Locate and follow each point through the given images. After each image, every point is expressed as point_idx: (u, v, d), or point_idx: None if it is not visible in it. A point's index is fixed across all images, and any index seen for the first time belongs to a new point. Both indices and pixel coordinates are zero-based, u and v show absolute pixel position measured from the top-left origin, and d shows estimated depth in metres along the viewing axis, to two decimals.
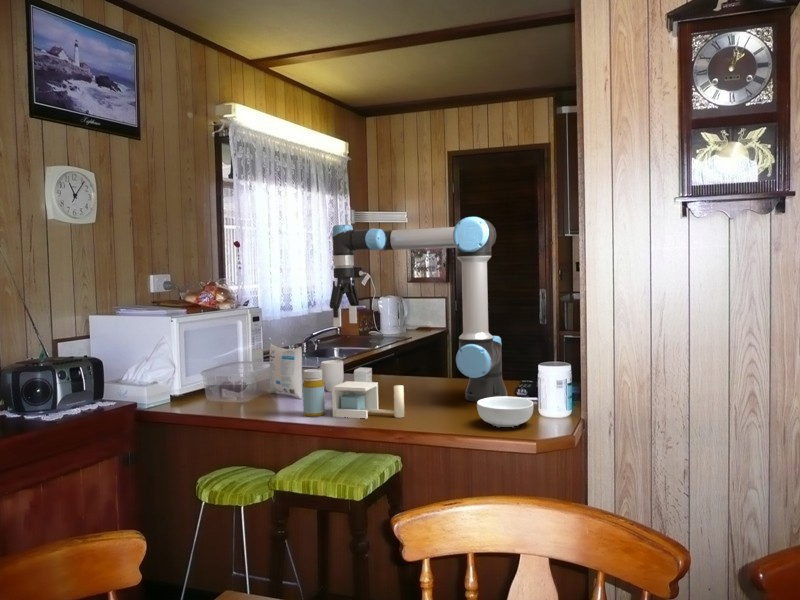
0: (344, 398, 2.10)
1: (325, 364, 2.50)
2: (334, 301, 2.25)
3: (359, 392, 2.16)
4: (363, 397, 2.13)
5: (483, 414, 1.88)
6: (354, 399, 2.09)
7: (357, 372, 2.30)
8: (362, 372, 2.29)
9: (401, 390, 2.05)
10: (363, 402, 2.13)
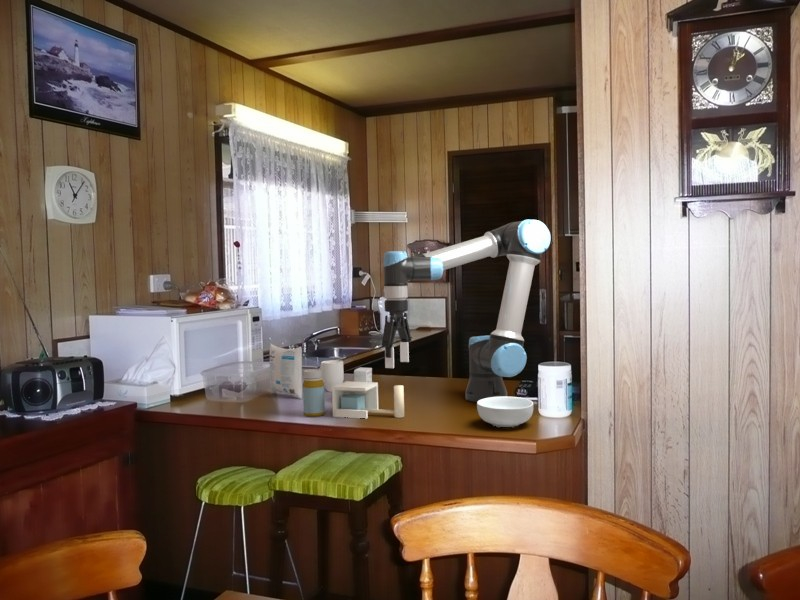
0: (344, 398, 2.10)
1: (325, 364, 2.50)
2: (387, 339, 1.97)
3: (359, 392, 2.16)
4: (363, 397, 2.13)
5: (483, 414, 1.88)
6: (354, 399, 2.09)
7: (357, 372, 2.30)
8: (362, 372, 2.29)
9: (401, 390, 2.05)
10: (363, 402, 2.13)
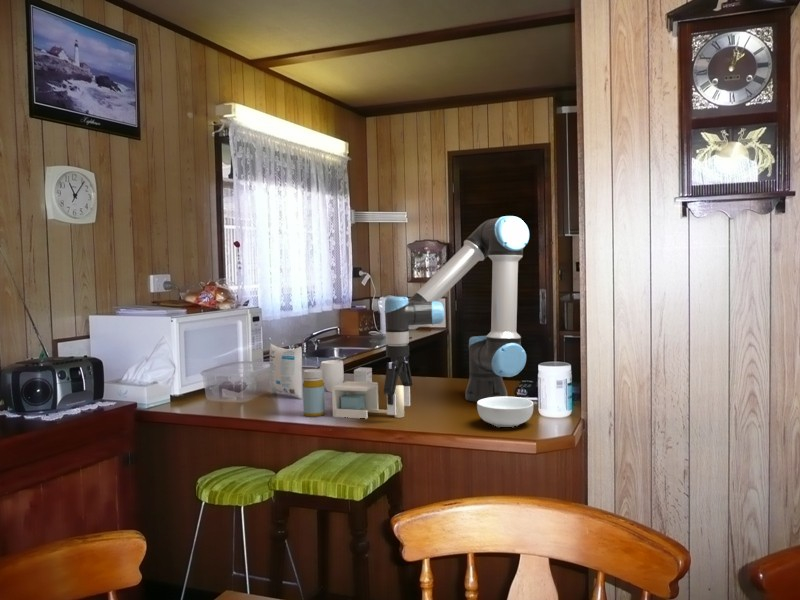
0: (344, 398, 2.10)
1: (325, 364, 2.50)
2: (389, 387, 1.97)
3: (359, 392, 2.16)
4: (363, 397, 2.13)
5: (483, 414, 1.89)
6: (354, 399, 2.09)
7: (357, 372, 2.30)
8: (362, 372, 2.29)
9: (401, 390, 2.05)
10: (363, 402, 2.13)
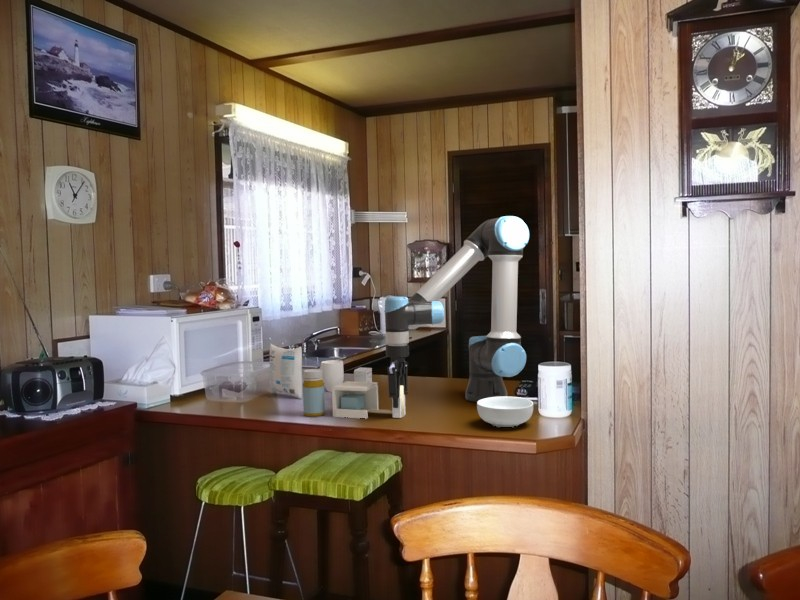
0: (344, 398, 2.10)
1: (325, 364, 2.50)
2: (394, 391, 2.01)
3: (359, 392, 2.16)
4: (363, 397, 2.13)
5: (483, 415, 1.88)
6: (354, 399, 2.09)
7: (357, 372, 2.30)
8: (362, 372, 2.29)
9: (401, 390, 2.05)
10: (363, 402, 2.13)
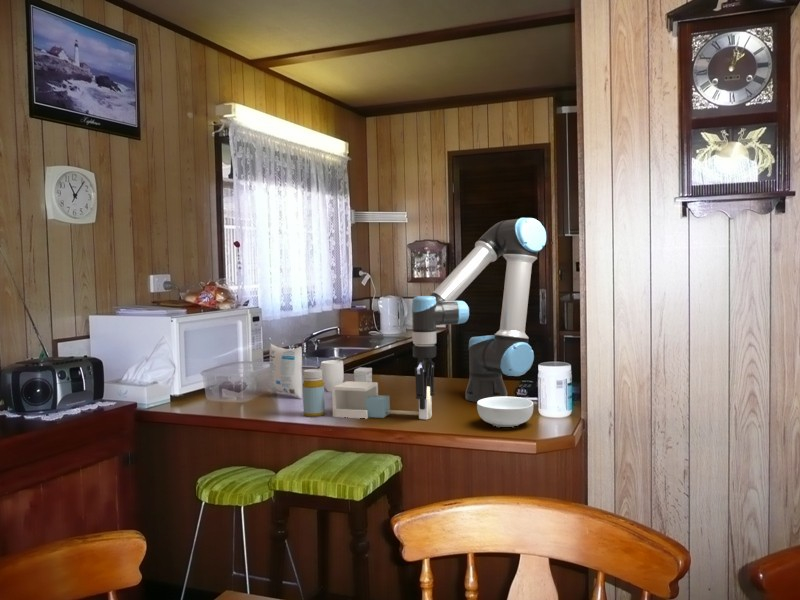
0: (369, 399, 2.07)
1: (325, 364, 2.50)
2: (421, 393, 1.98)
3: (359, 392, 2.16)
4: (388, 398, 2.10)
5: (483, 414, 1.88)
6: (379, 400, 2.06)
7: (357, 372, 2.30)
8: (362, 372, 2.29)
9: (428, 391, 2.02)
10: (388, 403, 2.10)
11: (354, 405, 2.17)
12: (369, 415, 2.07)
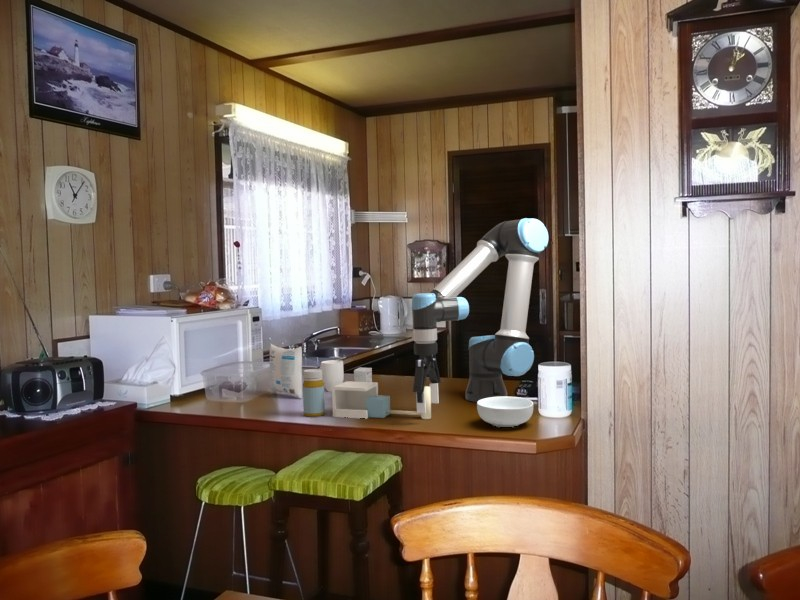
0: (369, 399, 2.07)
1: (325, 364, 2.50)
2: (419, 385, 1.94)
3: (359, 392, 2.16)
4: (388, 398, 2.10)
5: (483, 415, 1.88)
6: (380, 400, 2.06)
7: (357, 372, 2.30)
8: (362, 372, 2.29)
9: (428, 391, 2.02)
10: (388, 403, 2.10)
11: (354, 405, 2.17)
12: (369, 415, 2.07)
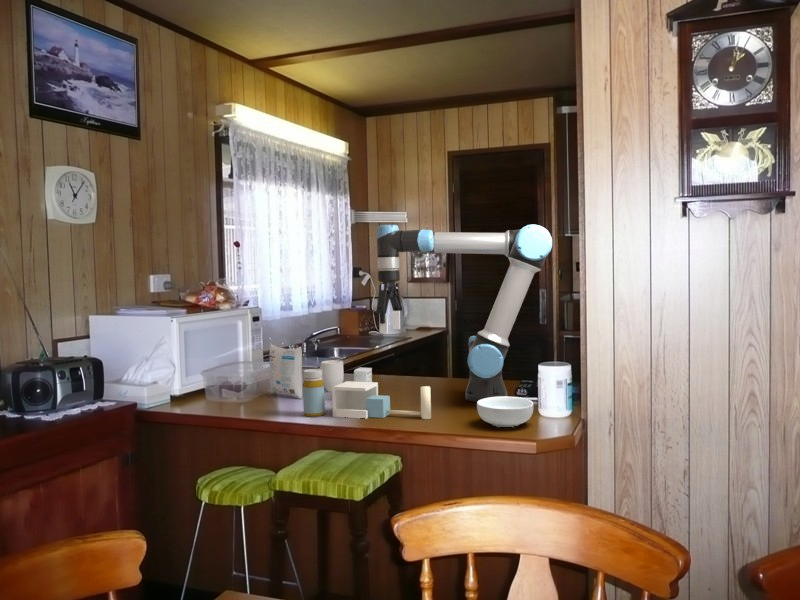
0: (369, 399, 2.07)
1: (325, 364, 2.50)
2: (381, 306, 2.12)
3: (359, 392, 2.16)
4: (388, 398, 2.10)
5: (483, 415, 1.88)
6: (380, 400, 2.06)
7: (357, 372, 2.30)
8: (362, 372, 2.29)
9: (428, 391, 2.02)
10: (388, 403, 2.10)
11: (354, 405, 2.17)
12: (369, 415, 2.07)
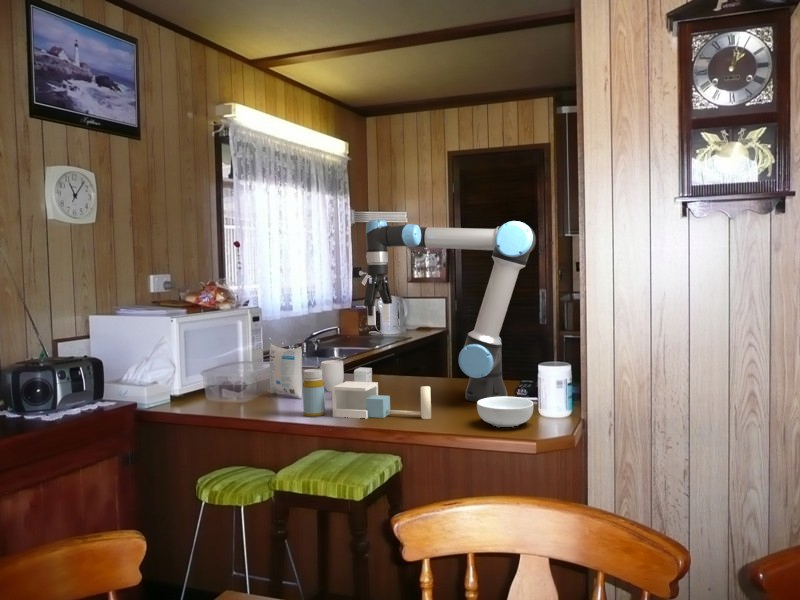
0: (369, 399, 2.07)
1: (325, 364, 2.50)
2: (369, 299, 2.19)
3: (359, 392, 2.16)
4: (388, 398, 2.10)
5: (483, 415, 1.88)
6: (380, 400, 2.06)
7: (357, 372, 2.30)
8: (362, 372, 2.29)
9: (428, 391, 2.02)
10: (388, 403, 2.10)
11: (354, 405, 2.17)
12: (369, 415, 2.07)
